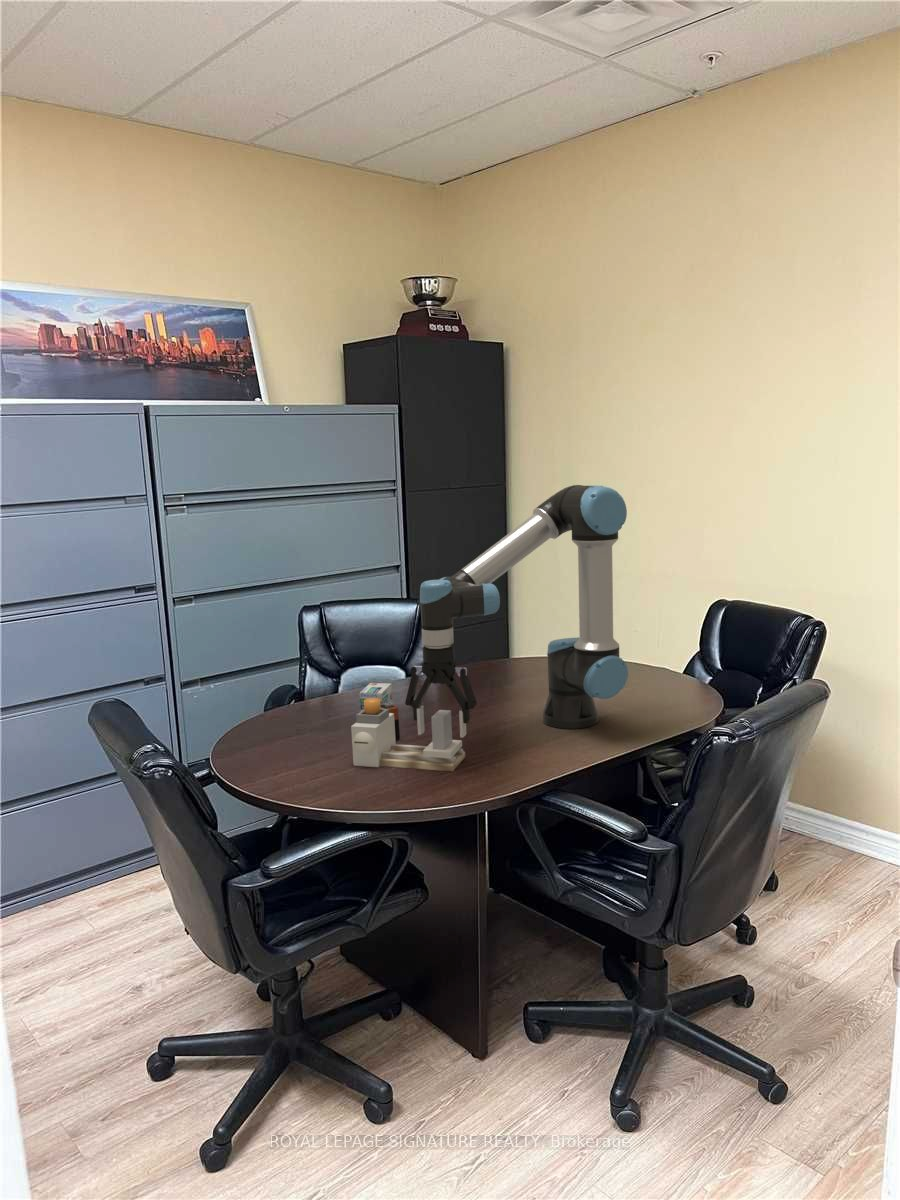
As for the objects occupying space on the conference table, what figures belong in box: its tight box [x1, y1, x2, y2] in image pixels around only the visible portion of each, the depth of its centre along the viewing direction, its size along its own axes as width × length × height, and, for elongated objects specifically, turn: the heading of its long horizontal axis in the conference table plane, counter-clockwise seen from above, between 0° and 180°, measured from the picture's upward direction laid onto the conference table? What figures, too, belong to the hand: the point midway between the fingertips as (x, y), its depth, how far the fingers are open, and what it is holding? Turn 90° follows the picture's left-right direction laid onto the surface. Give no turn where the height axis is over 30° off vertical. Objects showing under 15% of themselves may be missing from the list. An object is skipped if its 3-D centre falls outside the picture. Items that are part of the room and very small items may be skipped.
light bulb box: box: [359, 682, 394, 712], centre depth 255 cm, size 11×7×11 cm, turn 168°
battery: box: [380, 701, 401, 741], centre depth 243 cm, size 4×7×10 cm, turn 39°
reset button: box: [364, 698, 381, 714], centre depth 226 cm, size 4×4×3 cm
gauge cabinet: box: [350, 709, 397, 768], centre depth 227 cm, size 6×13×12 cm, turn 162°
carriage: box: [423, 709, 463, 758], centre depth 222 cm, size 7×9×10 cm
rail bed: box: [380, 743, 466, 772], centre depth 224 cm, size 18×10×3 cm, turn 72°
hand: (442, 734), depth 222 cm, fingers open, 10 cm apart
